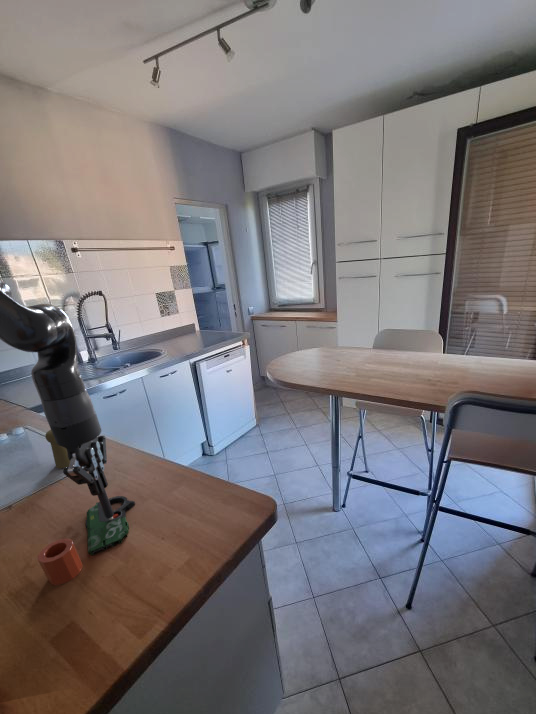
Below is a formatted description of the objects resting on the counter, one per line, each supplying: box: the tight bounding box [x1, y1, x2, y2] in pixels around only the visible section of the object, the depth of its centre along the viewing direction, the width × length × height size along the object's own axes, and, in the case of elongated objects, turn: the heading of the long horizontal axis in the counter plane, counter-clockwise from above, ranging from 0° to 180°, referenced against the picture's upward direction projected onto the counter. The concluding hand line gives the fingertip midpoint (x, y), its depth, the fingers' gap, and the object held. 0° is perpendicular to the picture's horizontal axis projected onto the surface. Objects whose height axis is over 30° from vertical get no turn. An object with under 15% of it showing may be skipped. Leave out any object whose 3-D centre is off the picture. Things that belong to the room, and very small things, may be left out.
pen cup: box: [37, 537, 83, 586], centre depth 60 cm, size 5×5×6 cm
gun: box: [85, 495, 136, 556], centre depth 72 cm, size 16×1×10 cm
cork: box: [44, 429, 70, 470], centre depth 95 cm, size 6×6×11 cm
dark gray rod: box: [88, 469, 114, 520], centre depth 69 cm, size 2×2×12 cm
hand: (100, 490), depth 69 cm, fingers closed on dark gray rod, 1 cm apart
